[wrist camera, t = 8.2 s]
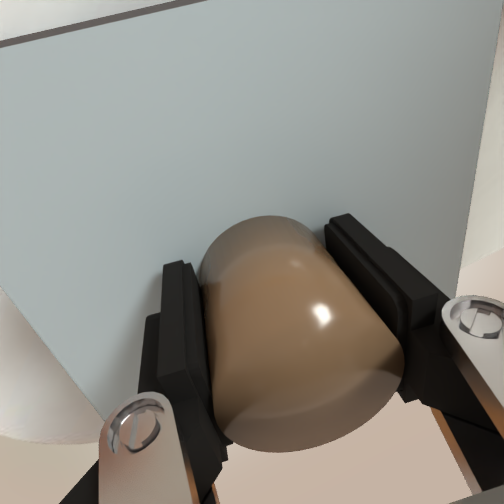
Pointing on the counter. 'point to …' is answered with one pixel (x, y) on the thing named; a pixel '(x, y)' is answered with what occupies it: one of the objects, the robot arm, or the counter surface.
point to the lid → (241, 191)
